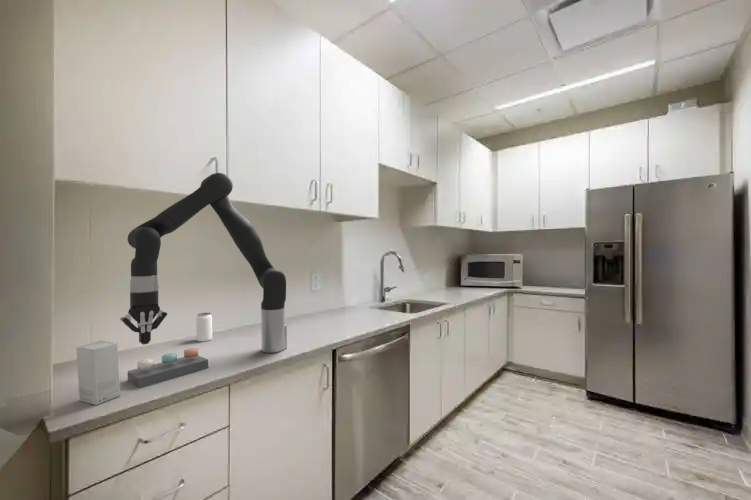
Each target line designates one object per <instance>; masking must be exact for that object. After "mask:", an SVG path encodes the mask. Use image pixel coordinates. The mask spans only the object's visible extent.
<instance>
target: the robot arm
mask: <svg viewBox="0 0 751 500" xmlns="http://www.w3.org/2000/svg"><path fill="white" fill-rule="evenodd" d="M233 186H234V185H233V181H232V179H231V177H229V175H227V174H225V173H222V172H215V173H212V174H210V175H209V176H207V177H205V178H204V179H203V180H202V181H201V183H200V186H199V187H198V188H196V190H194V191H193V192H191V193H189V195H187V196H185V197H184V198H182V199H179V200H178V201H177V202H175V203H173V204H172V205H170V206H168V207H167V208H165V209H164V210H162V211H161V212H159V214H157V215H156V216H154V217H153V218H151V219H149V220H147V221H145V222H143V223H141V224H139V225H138V226H136V227H134V228H133V229H132V230H131V231H130V232H129V234H128V235H127V243H128V245H130V247H132V248H133V249H135V251H134V252H135V253H134V257H133V258H132V259H131V261H130V282H129V309H128V310H127V312H128V313H127V314H126V315H124V316H122V317H120V319H119V320H120V321H121V322H122V323H123V324H124V325H125V326H126V327H128V328H129V330H131V332H134V333H138V342H139V344H141V345H143V346H144V345H148V344H150V342H151V341H152V339H151V338H152V336H151V335H152V333H151V332H152V331H153V330H157V329H158V327H160V325H161V323H163V320H165V318H166V317H167V315H168V313H167V312H166V311H163V310H162V309H161V308H160V305H159V287H160V286H159V277H158V259H159V256H160V251H161V244H162V243H161V238H162V237H164V236H165V235H168V234H171V233H173V232H175V231H176V230H178V228H179V229H180V227H182V226H183V225H184V224H186V223H187V222H188V221H190V220H191V219H192V218H193V217H194V216H195V215H197V214H199V212H200V211H202V210H203V209H204V208H206V207H207V206H209V205H210V206H211V208H212V209H213V210H214V211H215V213H216V214H217V216H218V217H219V219H220V221H221V223H222V224H223V226H224V227H225V229H226V231H227V232H228V235H229V236H230V237H231V238H232V241H233V243H234V244H235V245H236V247H237V248H238V250H239V251H240V253H241V254H242V256H243V257H244V259H245V260H246V261H247V263H248V264H249V265H250V267H251V269H252V272H253V273H254V274H255V275H254V276H255V277H256V279H257V281H258V284H259V285H260V287H261V288H262V291H263V293H262V295H263V296H262V301H261V304H260V307H261V309H260V313H261V314H260V315H261V319H260V320H261V327H260V328H261V351H262V352H263V353H267V354H269V353H271V354H272V353H273V354H274V353H279V352H282V351H284V350H285V349H287V348H288V337H287V336H288V330H287V329H288V327H287V325H286V324H285V323H286V322H285V317H286V316H285V314H286V313H285V303H286V301H287V278H286V275H285V274H284V273H283V272H282V271H281V270H279V269H276V268H275V267H274V266H273V265H272V263H271V262H270V260H269V259H268V257H267V255H266V252H265V248H264V245H263V242H262V240H261V237H260V236H259V234H258V231H256V229H255V227H254V226H253V224H252V222H250V221H249V219H248V218H246V216H244V215H243V214H242V213H241V212H239V211H238V210H237V209H236V208H235V207H234V205H233V204H232V202H231V200H230V198H229V197H228V196H229V195H230V194H231V192H232V191H233ZM156 316H157V317H156ZM132 319H133V320H134V321H135V322H136V324H137V325H135V324H134V323H133V322H132Z"/></svg>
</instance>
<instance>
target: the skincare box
mask: <svg viewBox="0 0 751 500" xmlns="http://www.w3.org/2000/svg"><path fill="white" fill-rule="evenodd" d="M118 347H119V346H118V343H117V342H111V341H104V340H98V341H95V342H90V343H87V344H84V345H83V344H82V345H78V346H76V350H75V351H76V365H77V379H78V383H77V384H78V397H79V402H82V403H87V404H91V405H95V406H98V405H101V404H104V403H106V402H109V401H111V400H114V399H116V398H119V397H120V396H121V389H120V386H121V384H120V371H119V369H120V368H119V367H120V366H119V354H118V353H119V352H118Z"/></svg>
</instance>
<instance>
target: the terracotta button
mask: <svg viewBox="0 0 751 500" xmlns="http://www.w3.org/2000/svg"><path fill="white" fill-rule="evenodd" d="M196 356H199V348H195V347H191V348H188V349H187V348H186V349H185V350H183V357H185V358H191V357H196Z"/></svg>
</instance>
